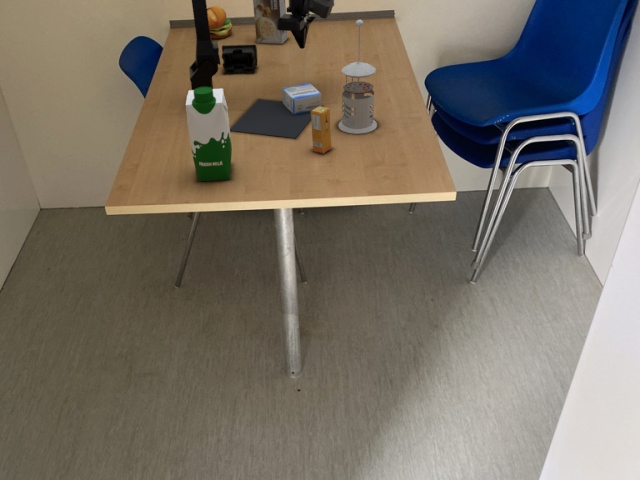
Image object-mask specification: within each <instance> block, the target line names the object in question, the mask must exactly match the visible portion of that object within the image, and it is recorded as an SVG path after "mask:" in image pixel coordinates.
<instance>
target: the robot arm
mask: <svg viewBox="0 0 640 480" xmlns="http://www.w3.org/2000/svg"><path fill="white" fill-rule="evenodd" d="M191 7H192V13H193V21H194V28H195V36H196V39H195V60H194V61H193V62H192V64H191V65H190V66H189V68H188V71H189V81H190V87H191V90H195V89H196V88H199V87H211V88H212V89H214V82H213V77H214V76H215V75H216V74H217V73H218V71H219V66H220V65H221V64H222V63H221V57H220V54H219V52H220V51H219V50H220V49H219V43H218V41H217V40H215V41H213V38H211V36H210V30H209V22H208V13H207V8H208V7H207V0H191ZM333 7H335V0H288V6H287V7H286V14H284V15H283V16H282V17H280V18H279V19H278V21H277V30H283V31H287V32H290V33H291V34H292V36H293V38H294V40H295V42H296V44H297V46H298V47H299V49H301V50H304V49H305V48H306V43H307V38H308V34H309V29H310V26H311V24H312V23H313V22H314V21H315V20H316V19H317V17H316V16H319V18H320V19H325V20H327V19H328V17H329V16H330V15H331V13H332V10H333ZM312 14H313V15H316V16H312Z"/></svg>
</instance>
